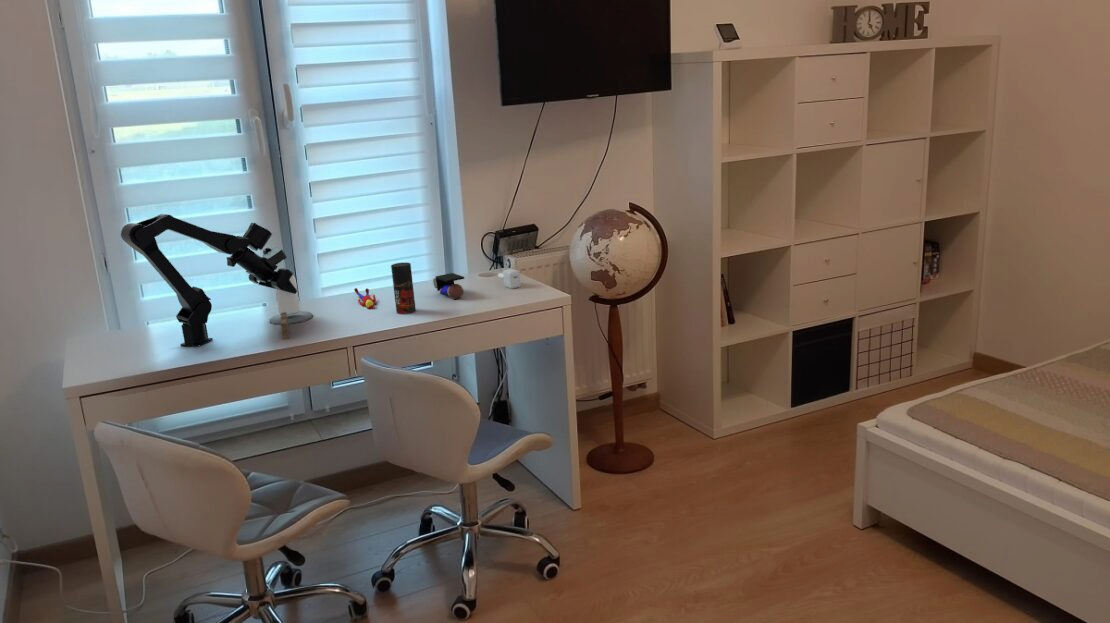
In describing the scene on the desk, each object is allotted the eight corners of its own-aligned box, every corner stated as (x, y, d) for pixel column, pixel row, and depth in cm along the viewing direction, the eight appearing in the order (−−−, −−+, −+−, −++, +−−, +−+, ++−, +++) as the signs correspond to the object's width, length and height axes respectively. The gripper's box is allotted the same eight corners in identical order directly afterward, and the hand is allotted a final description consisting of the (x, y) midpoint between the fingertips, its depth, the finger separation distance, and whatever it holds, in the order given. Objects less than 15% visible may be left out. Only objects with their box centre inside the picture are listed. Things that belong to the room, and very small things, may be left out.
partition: (288, 338, 244) (286, 323, 242) (283, 339, 243) (280, 324, 242) (288, 326, 257) (286, 312, 256) (283, 327, 256) (281, 312, 255)
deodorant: (393, 313, 263) (387, 266, 259) (402, 308, 269) (396, 262, 265) (410, 314, 262) (405, 266, 258) (418, 309, 267) (413, 262, 263)
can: (300, 313, 263) (295, 275, 260) (278, 316, 261) (273, 278, 258) (300, 309, 269) (294, 272, 266) (278, 311, 267) (273, 274, 264)
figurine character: (433, 297, 287) (449, 301, 274) (430, 275, 286) (445, 277, 272) (452, 294, 290) (468, 297, 277) (449, 272, 289) (465, 274, 275)
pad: (298, 324, 258) (298, 322, 258) (261, 324, 261) (260, 322, 261) (320, 313, 270) (320, 311, 270) (284, 313, 273) (283, 311, 273)
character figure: (367, 282, 289) (374, 294, 270) (373, 293, 290) (380, 306, 272) (352, 289, 288) (358, 301, 269) (358, 300, 289) (364, 314, 271)
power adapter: (494, 284, 294) (493, 267, 292) (506, 281, 296) (505, 265, 295) (510, 289, 284) (508, 272, 283) (522, 287, 287) (521, 270, 285)
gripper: (282, 243, 250) (320, 272, 260) (252, 238, 263) (289, 266, 273) (261, 274, 247) (300, 303, 257) (232, 267, 259) (270, 295, 270)
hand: (290, 291), depth 264 cm, fingers closed on can, 6 cm apart
